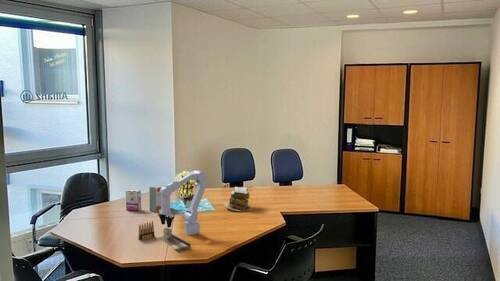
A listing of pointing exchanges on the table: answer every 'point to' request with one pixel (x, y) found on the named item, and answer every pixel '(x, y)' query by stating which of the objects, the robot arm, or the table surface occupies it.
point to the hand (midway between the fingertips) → (166, 225)
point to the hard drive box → (155, 197)
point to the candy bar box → (133, 200)
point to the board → (176, 243)
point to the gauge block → (167, 233)
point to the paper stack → (239, 200)
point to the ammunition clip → (146, 231)
